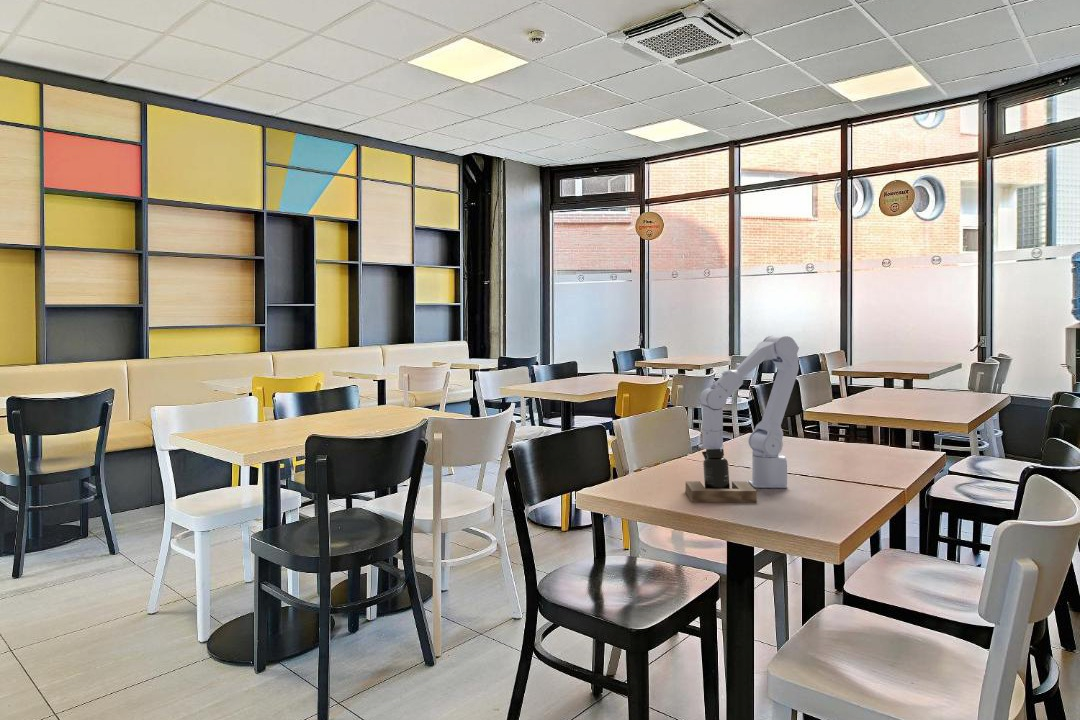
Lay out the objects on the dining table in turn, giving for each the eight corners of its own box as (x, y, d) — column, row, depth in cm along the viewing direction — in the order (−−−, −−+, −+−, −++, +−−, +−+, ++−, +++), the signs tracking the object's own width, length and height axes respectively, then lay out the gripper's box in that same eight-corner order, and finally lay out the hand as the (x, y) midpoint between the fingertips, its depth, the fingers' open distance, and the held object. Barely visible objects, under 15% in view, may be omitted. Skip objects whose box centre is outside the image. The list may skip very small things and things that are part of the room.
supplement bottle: (733, 492, 192) (729, 448, 193) (708, 493, 192) (705, 449, 193) (726, 490, 199) (723, 448, 200) (702, 491, 199) (699, 449, 200)
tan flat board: (746, 492, 197) (746, 481, 197) (756, 502, 186) (756, 491, 185) (685, 491, 198) (685, 481, 198) (692, 501, 187) (692, 490, 186)
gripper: (694, 426, 209) (694, 471, 210) (703, 433, 195) (703, 482, 195) (718, 426, 209) (718, 471, 209) (728, 433, 194) (729, 481, 195)
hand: (712, 476), depth 202 cm, fingers closed
